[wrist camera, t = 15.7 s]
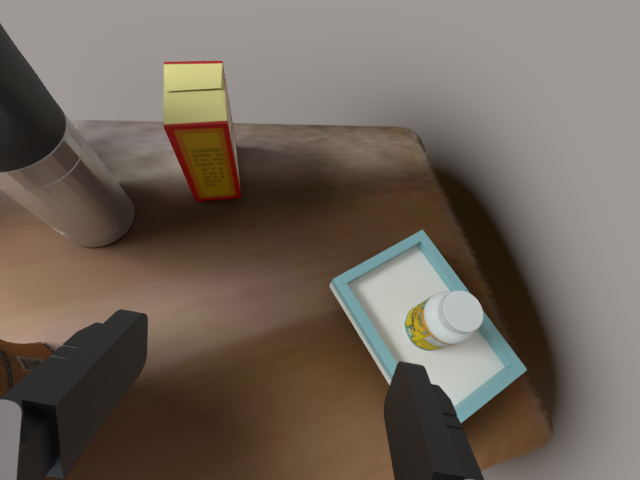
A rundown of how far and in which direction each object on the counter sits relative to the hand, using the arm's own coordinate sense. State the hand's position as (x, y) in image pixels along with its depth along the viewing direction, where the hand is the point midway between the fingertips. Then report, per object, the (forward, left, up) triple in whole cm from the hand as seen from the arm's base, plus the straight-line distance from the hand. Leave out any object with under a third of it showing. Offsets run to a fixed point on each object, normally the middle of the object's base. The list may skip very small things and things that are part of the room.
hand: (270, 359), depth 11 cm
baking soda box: (-31, +6, -34) cm, 46 cm away
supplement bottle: (+4, +18, -29) cm, 34 cm away
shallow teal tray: (+4, +18, -34) cm, 38 cm away
